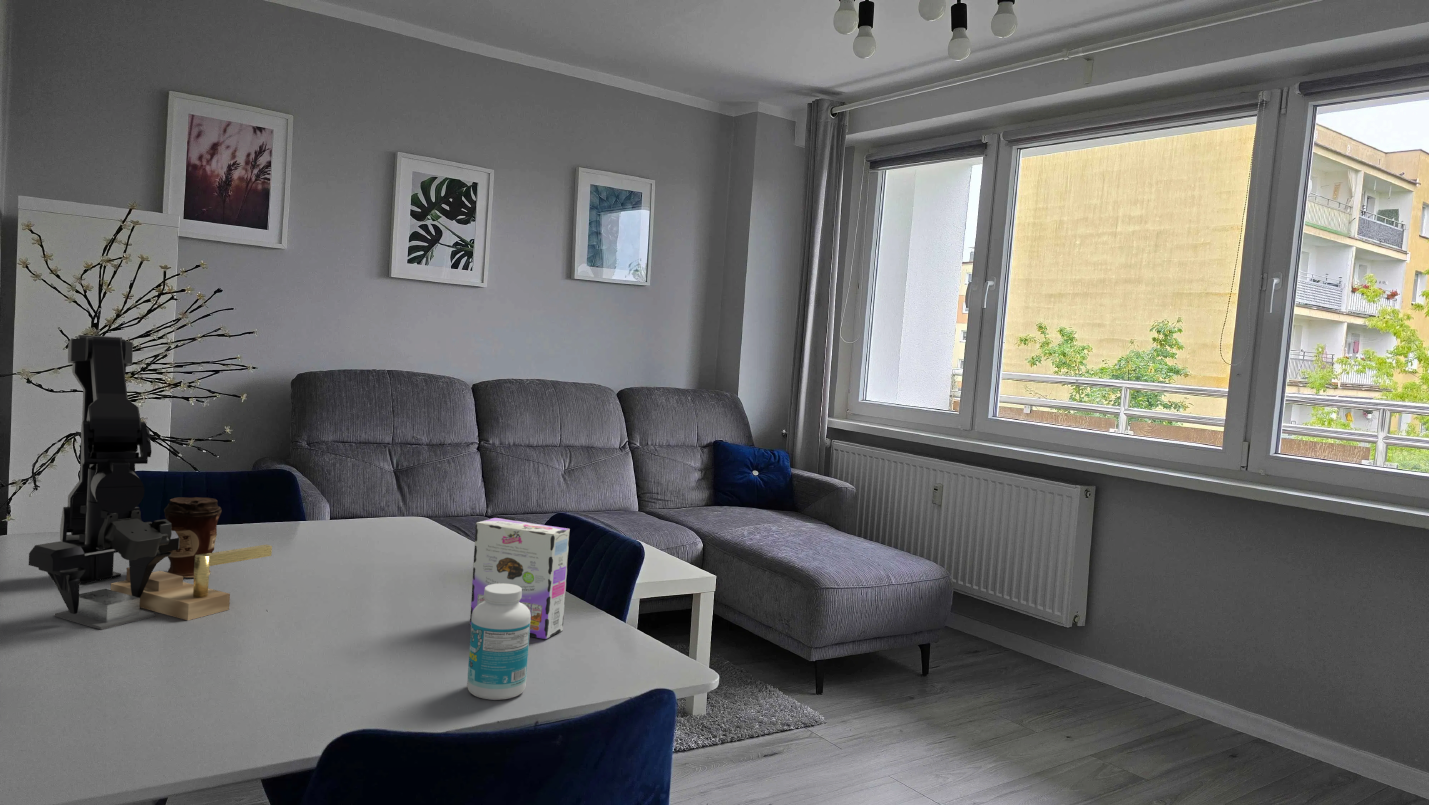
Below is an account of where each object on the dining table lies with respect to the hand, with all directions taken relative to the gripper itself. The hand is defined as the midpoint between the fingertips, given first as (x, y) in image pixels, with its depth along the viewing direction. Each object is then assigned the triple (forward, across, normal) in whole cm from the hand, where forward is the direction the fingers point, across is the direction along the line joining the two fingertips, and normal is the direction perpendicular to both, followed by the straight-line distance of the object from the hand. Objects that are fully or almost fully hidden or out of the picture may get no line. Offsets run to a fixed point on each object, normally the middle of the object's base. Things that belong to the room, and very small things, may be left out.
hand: (105, 606), depth 137 cm
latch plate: (+2, +9, -2) cm, 9 cm away
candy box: (+2, +32, -49) cm, 59 cm away
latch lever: (-1, +14, -9) cm, 16 cm away
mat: (+2, 0, 0) cm, 2 cm away
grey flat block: (+1, 0, 0) cm, 1 cm away
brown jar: (+2, +22, +11) cm, 25 cm away
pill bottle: (+2, +9, -62) cm, 63 cm away
